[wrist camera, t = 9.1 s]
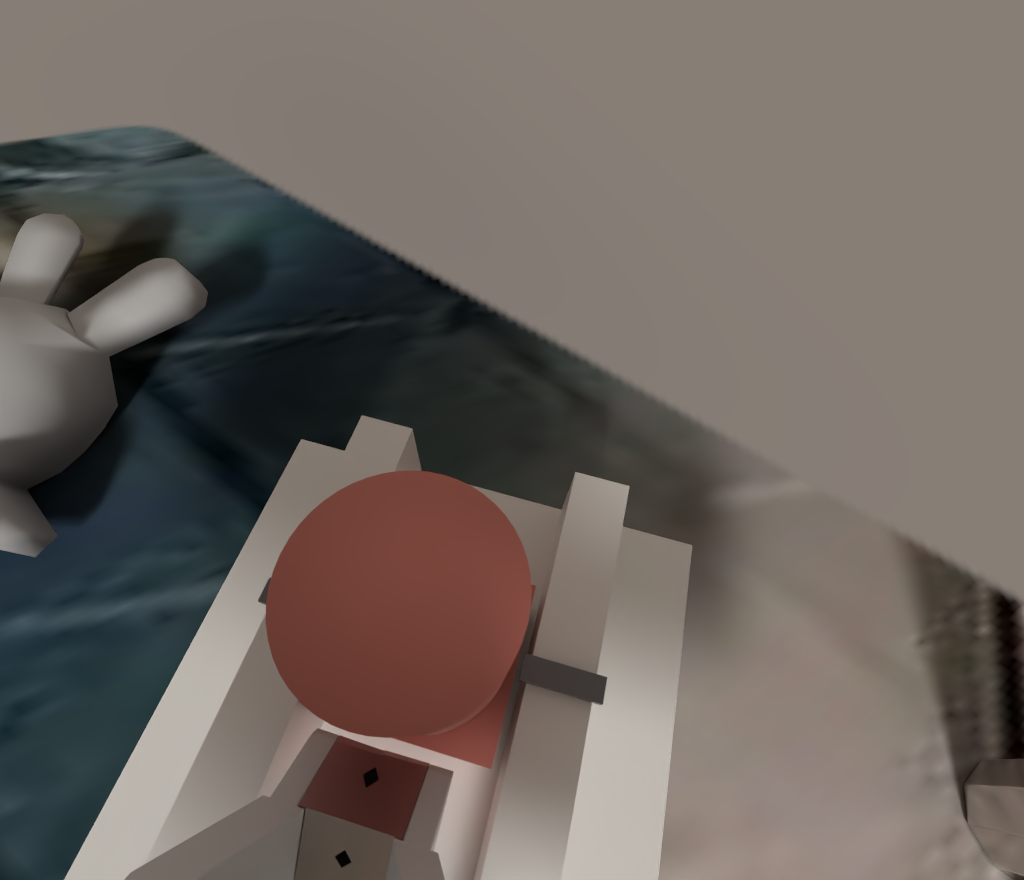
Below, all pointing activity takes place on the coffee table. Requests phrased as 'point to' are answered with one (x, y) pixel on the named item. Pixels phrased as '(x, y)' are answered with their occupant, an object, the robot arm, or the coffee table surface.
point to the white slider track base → (474, 789)
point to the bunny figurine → (66, 361)
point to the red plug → (403, 612)
